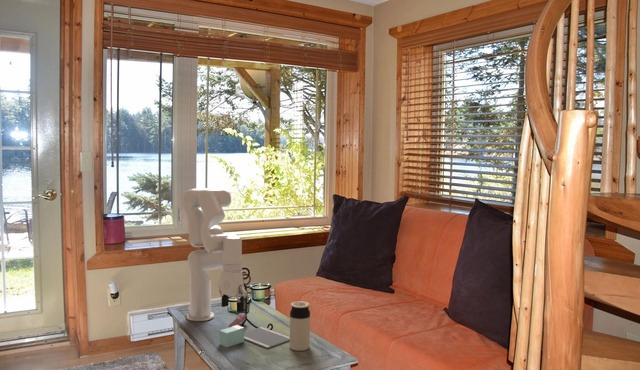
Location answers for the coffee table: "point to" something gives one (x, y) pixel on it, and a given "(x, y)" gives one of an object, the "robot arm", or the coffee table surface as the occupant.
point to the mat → (265, 337)
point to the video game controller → (238, 320)
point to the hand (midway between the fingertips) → (232, 308)
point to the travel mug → (300, 326)
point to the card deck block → (232, 336)
